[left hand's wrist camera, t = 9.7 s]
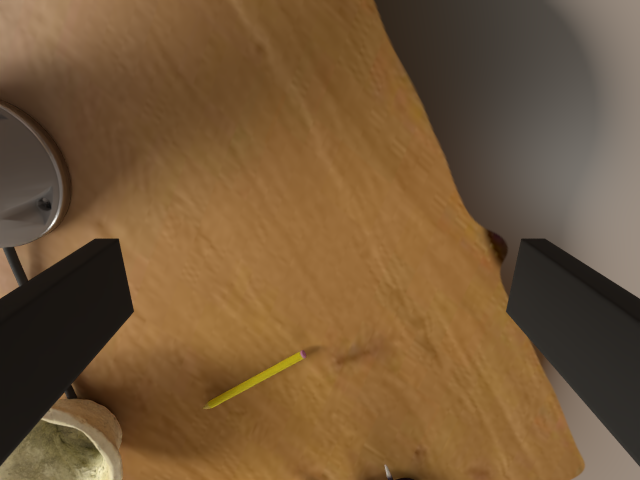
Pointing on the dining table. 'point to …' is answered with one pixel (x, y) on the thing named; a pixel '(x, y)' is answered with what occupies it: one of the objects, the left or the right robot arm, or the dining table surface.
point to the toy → (391, 476)
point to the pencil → (255, 379)
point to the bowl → (69, 445)
